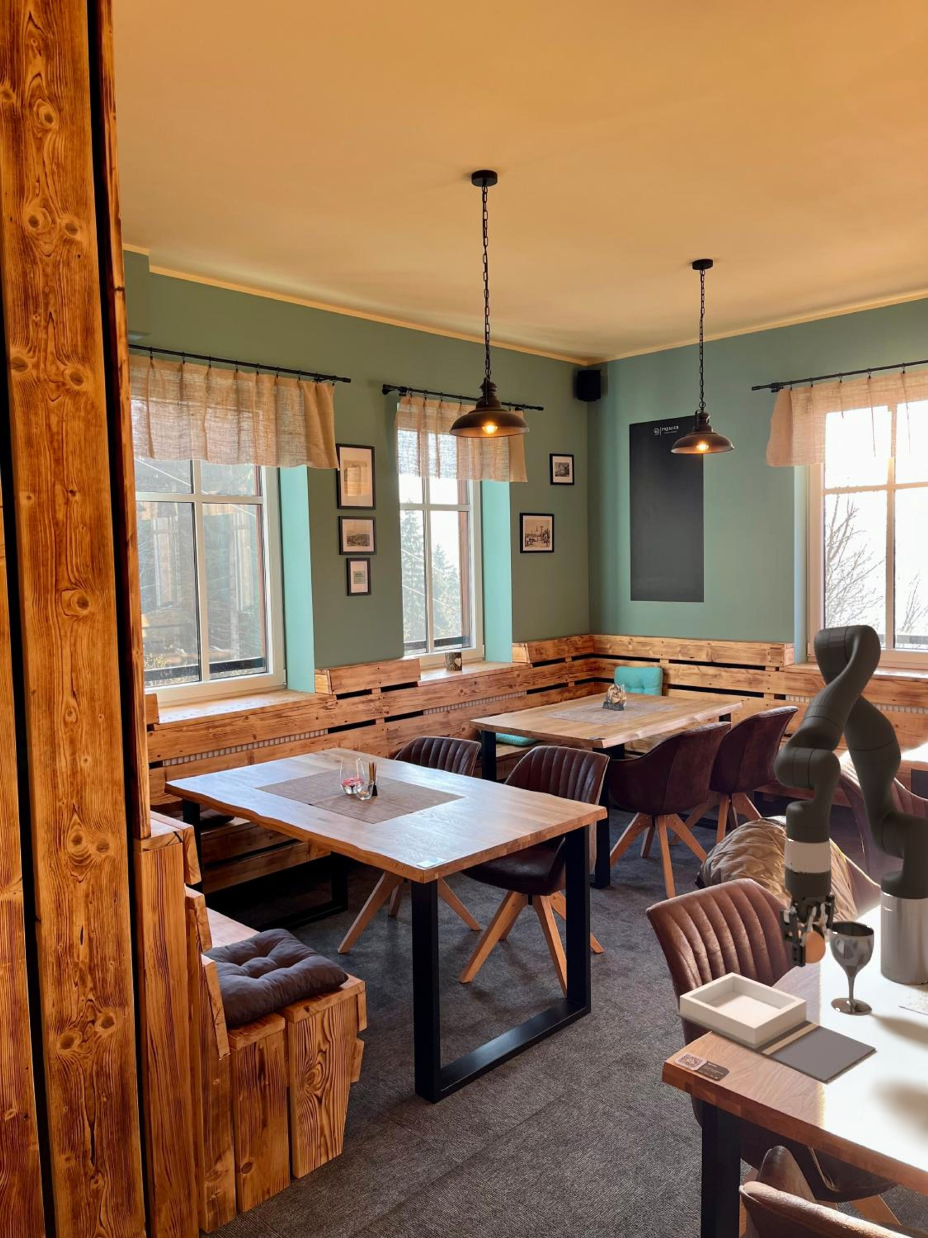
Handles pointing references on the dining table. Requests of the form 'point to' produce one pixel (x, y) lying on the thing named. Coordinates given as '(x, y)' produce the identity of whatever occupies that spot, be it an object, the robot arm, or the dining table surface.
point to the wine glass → (851, 959)
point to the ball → (814, 947)
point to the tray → (743, 1009)
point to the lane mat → (811, 1050)
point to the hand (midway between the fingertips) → (808, 960)
